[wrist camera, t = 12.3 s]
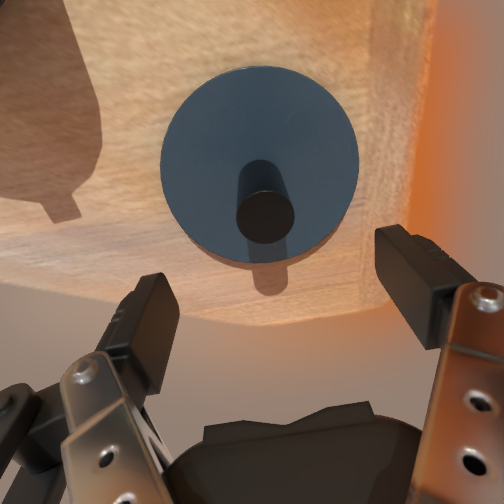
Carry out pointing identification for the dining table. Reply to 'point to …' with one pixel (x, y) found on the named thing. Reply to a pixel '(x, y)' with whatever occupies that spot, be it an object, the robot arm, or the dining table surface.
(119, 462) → the robot arm
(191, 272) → the dining table surface
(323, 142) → the lid
